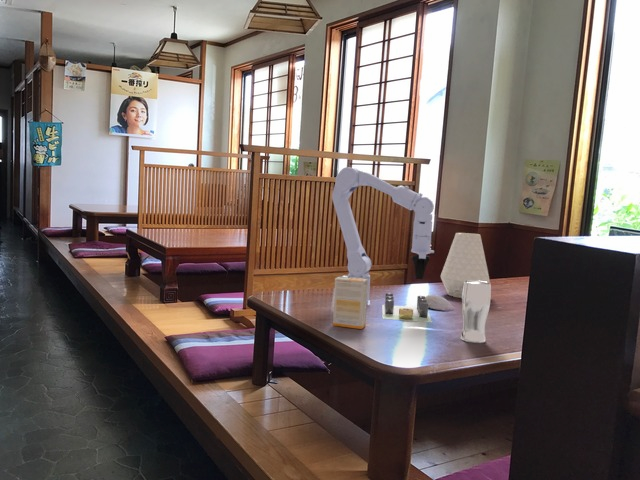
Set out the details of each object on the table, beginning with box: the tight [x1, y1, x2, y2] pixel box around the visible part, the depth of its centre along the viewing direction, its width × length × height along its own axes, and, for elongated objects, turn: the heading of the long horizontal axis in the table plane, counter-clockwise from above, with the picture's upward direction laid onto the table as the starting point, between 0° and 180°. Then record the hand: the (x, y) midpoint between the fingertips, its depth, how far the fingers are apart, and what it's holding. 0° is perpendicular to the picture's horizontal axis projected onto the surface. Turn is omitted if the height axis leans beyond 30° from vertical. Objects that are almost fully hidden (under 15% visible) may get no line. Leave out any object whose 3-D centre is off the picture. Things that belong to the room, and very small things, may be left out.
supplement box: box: [332, 275, 368, 330], centre depth 149 cm, size 8×5×13 cm, turn 71°
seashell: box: [425, 294, 455, 312], centre depth 177 cm, size 10×6×10 cm
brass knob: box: [399, 308, 413, 321], centre depth 159 cm, size 4×4×3 cm
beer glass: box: [460, 280, 492, 344], centre depth 140 cm, size 7×7×15 cm
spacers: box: [384, 292, 429, 318], centre depth 169 cm, size 12×14×4 cm
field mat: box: [381, 304, 433, 323], centre depth 166 cm, size 14×20×1 cm
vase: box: [440, 232, 490, 299], centre depth 203 cm, size 17×17×23 cm
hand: (419, 278), depth 174 cm, fingers closed
